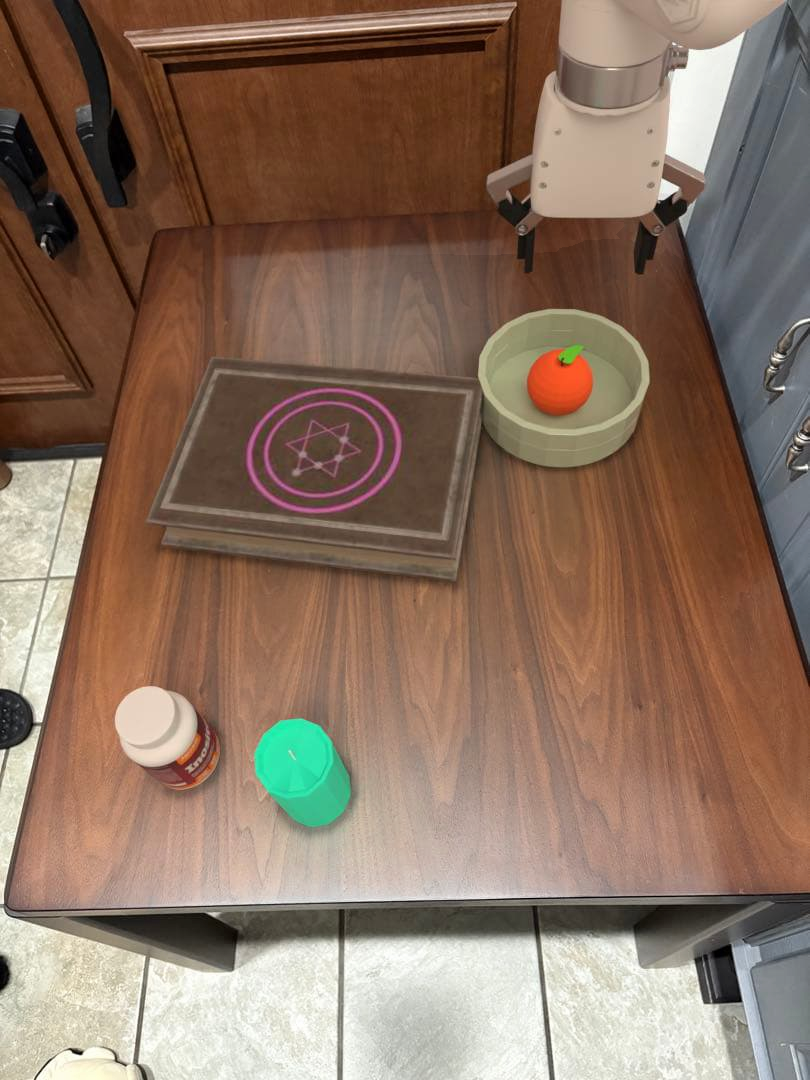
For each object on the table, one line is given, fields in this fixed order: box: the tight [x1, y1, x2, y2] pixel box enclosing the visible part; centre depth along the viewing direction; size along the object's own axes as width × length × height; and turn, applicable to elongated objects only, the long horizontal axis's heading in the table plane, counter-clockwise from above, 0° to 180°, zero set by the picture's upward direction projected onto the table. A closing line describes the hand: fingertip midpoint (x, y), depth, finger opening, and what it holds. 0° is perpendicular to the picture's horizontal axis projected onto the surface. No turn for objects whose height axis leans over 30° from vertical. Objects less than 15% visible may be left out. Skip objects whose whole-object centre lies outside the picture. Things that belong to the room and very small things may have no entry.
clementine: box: [527, 345, 593, 416], centre depth 84 cm, size 8×7×7 cm
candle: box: [253, 717, 352, 828], centre depth 63 cm, size 6×6×12 cm
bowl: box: [477, 308, 651, 468], centre depth 85 cm, size 18×18×6 cm
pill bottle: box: [114, 685, 221, 791], centre depth 65 cm, size 6×6×11 cm
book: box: [145, 356, 483, 583], centre depth 83 cm, size 30×22×5 cm
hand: (582, 263), depth 71 cm, fingers open, 9 cm apart
